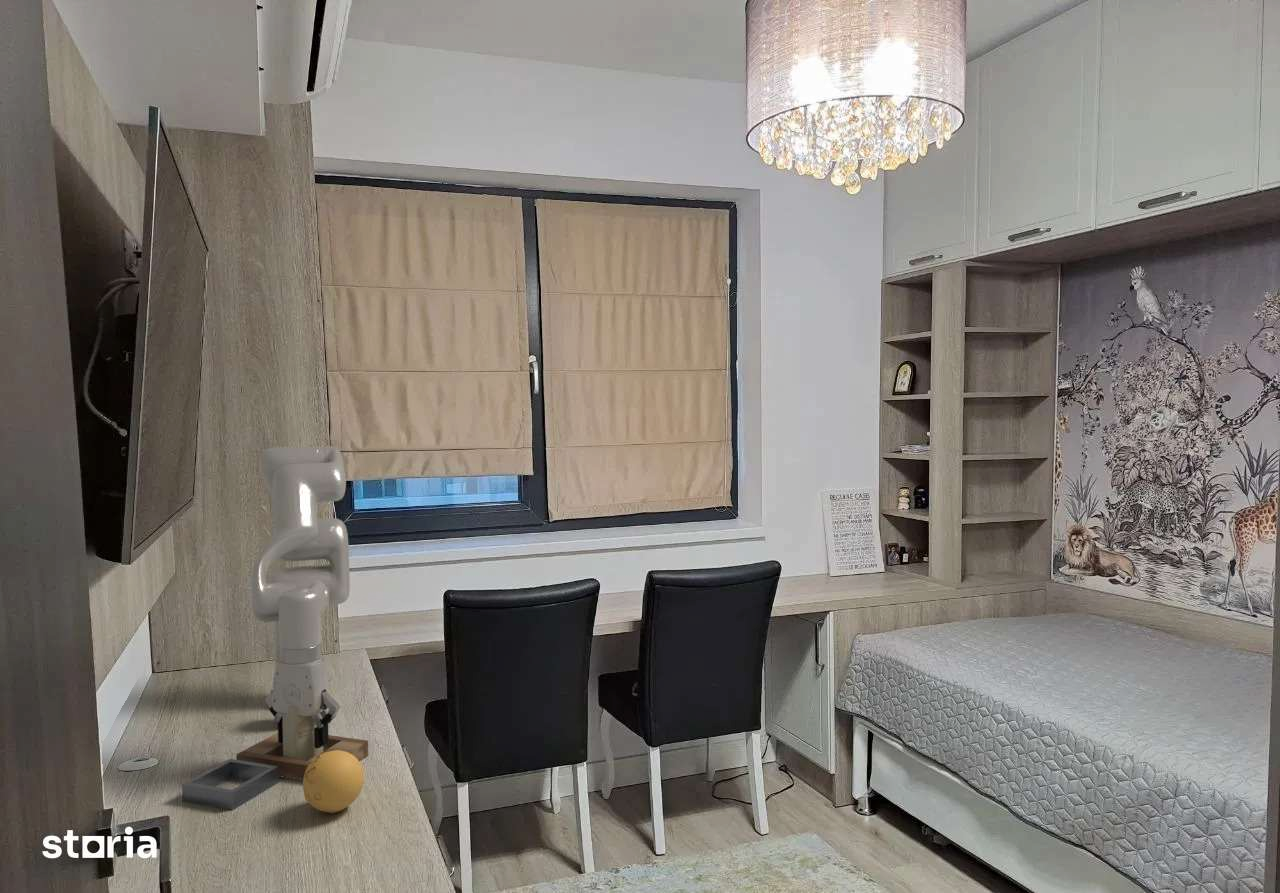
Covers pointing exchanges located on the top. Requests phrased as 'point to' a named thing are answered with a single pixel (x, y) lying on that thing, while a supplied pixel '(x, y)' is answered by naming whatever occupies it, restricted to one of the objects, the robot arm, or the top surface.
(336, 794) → the stress ball
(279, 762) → the wooden tray frame
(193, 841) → the top surface
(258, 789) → the frame
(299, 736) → the skincare box
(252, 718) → the top surface
